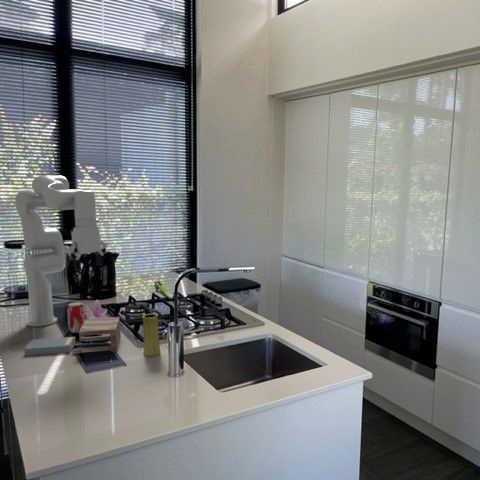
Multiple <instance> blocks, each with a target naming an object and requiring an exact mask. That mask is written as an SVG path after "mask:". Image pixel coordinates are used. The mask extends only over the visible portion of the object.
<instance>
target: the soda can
mask: <svg viewBox="0 0 480 480" xmlns="http://www.w3.org/2000/svg"><path fill="white" fill-rule="evenodd" d="M66 312H67V314H66V315H67V327H68V331H69V332H71V334H79V331H80V329H81V327H82V325H83V324H84V322H85V320H86V310H85V306H84V304H83V302H82V301H73V302H71V303H68V306H67V308H66Z"/></svg>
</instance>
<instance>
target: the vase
mask: <svg viewBox="0 0 480 480" xmlns="http://www.w3.org/2000/svg"><path fill="white" fill-rule="evenodd" d="M158 319H159V318H158V314H157V313H147V314H144V315H143V316H142V325H143V326H142V329H143V331H142V333H143V353H142V354H143V355H144V356H145V357H156V356H158V355H160V354H161V347H160V334H159V320H158Z"/></svg>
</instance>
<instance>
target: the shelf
mask: <svg viewBox="0 0 480 480" xmlns="http://www.w3.org/2000/svg"><path fill="white" fill-rule="evenodd" d="M120 320H121V319H120V316H115V317H114V316H113V317H110V316H109V317H108V318H94V319H89V318H85V322H84V324H83V325H82V327H81V329H80V331H79V333H78V336H79V338H78V339H79V342H97V341H99V342H101V341H109V340H110V345H103V346H87V347H79V348H75V349H72V355H77V354H81V353H93V352H94V353H95V352H107V351H110V352H111V353H112V352H117V351H118V347H119V344H120V340H121V321H120ZM93 335H94V336H93ZM95 335H96V336H95ZM98 335H99V336H98Z"/></svg>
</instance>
